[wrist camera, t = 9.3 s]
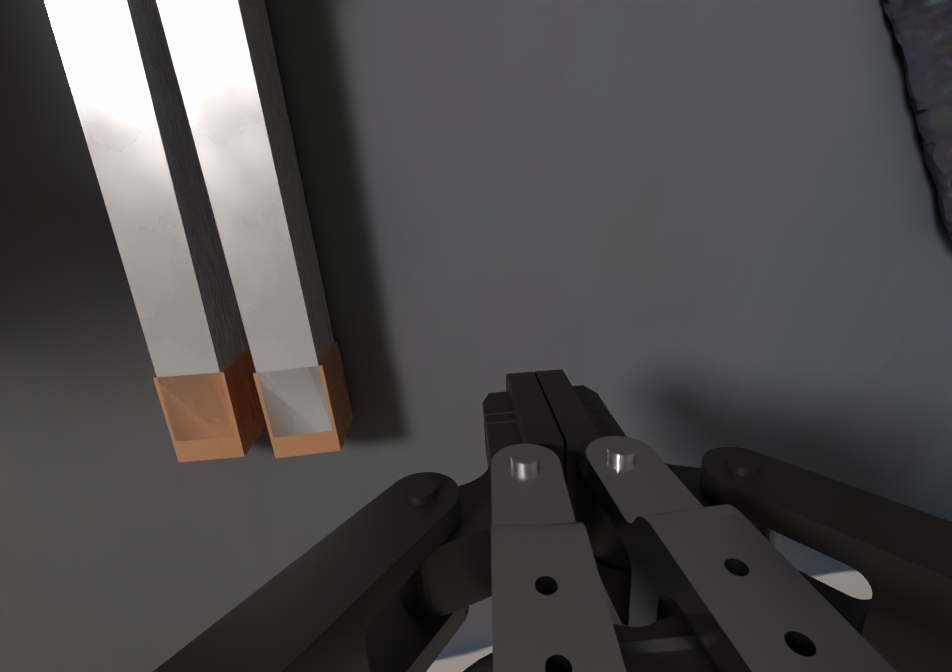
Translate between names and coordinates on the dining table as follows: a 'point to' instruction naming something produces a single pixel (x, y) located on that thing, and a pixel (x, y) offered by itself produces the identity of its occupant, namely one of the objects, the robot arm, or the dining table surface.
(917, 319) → the dining table surface
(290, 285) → the tong arm
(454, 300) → the dining table surface
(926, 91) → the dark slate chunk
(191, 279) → the base
